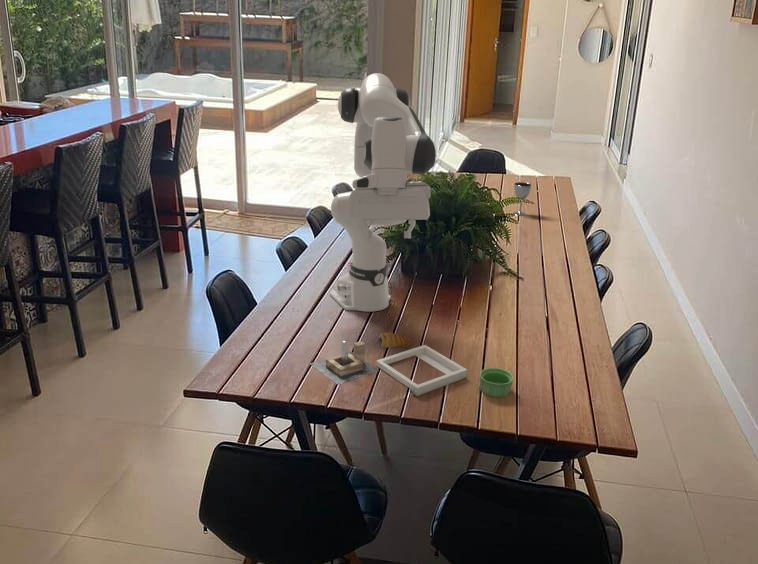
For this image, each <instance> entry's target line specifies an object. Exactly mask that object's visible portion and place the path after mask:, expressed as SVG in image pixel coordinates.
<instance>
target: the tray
mask: <svg viewBox="0 0 758 564" xmlns="http://www.w3.org/2000/svg"><path fill="white" fill-rule="evenodd" d="M414 356H416V357H417V358H419V359H420V360H423V362H426V363H427V364H429V365H430V366H432V367H434V368H435V369H436V370H438V371H440V372H441V373H443V374H444V375H441V376H439V377H435V378H432V379H430V380H427V381H425V382H422V383H418V384H417V383H416V382H414V381H413V380H411V378H408V377H407V376H406V375H404V374H402V373H401V372H399V371H398V370H396V369H395V368H393V367H392V366H390V365H389V364H393V363H396V362H398V361H402V360H405V359H407V358H411V357H414ZM375 366H376V368H377V367H378V369H381V371H383V372H385V373H387V374H388V375H389V376H391V377H392V378H394V379H395V380H397V381H398V382H399V383H401V384H402V385H405V386H406V387H408V389H410V390H409V392H410V393H411V394H412V395H414V396H416V397H420V396H421V395H423V394H426V393H430V392H431V391H435V390H437V389H440V388H443V387H445V386H449V385H451V384H453V383H457V382H459V381H461V380H465V379H467V376H468V369H467V368H465V367H464V366H462V365H460V364H459V363H457V362H455V361H453V360H452V359H450V358H448V357H447V356H444V355H443V354H441V353H440V352H438V351H436V350H435V349H433V348H431V347H429V346H428V345H426V344H423V345H420V346H417V347H414V348H411V349H408V350H405V351H401V352H399V353H395V354H393V355H389V356H386V357H383V358H380V359H376V361H375Z"/></svg>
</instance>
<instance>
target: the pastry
mask: <svg viewBox="0 0 758 564" xmlns="http://www.w3.org/2000/svg"><path fill="white" fill-rule="evenodd" d="M378 340H379V342H381V345H380V346H381V347H382V348H387V349H388V348H397V347H401V348H403V349H405V348H408V347H410V345H411V340H410V338H409V337H407V336H406V335H402V334H399V333H394V332H384V333H380V335H379V337H378Z"/></svg>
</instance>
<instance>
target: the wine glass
mask: <svg viewBox="0 0 758 564" xmlns="http://www.w3.org/2000/svg"><path fill="white" fill-rule="evenodd" d="M531 189H532V184H531V183H529V182H523V181H518V182H515V183H514V189H513V191H514V195H515V198H517V197H519V198H521V199H524V201H525V200H526V199H527V198H528V197H529V195H530V193H531ZM522 205H523V203H521V204H519V207H518V208H519V209H518V211H514V212H512V213H513V214H512V215H514V214H515V215H514V216H517V215H518V217H519V216H520V217H524V216H527V215H528V214H527V213H526V212H523V211H522Z"/></svg>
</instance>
